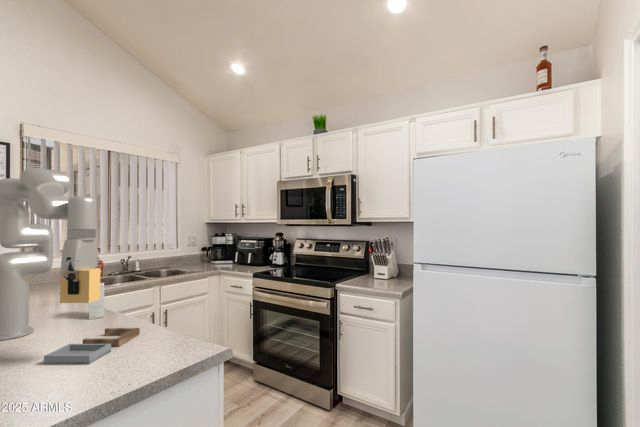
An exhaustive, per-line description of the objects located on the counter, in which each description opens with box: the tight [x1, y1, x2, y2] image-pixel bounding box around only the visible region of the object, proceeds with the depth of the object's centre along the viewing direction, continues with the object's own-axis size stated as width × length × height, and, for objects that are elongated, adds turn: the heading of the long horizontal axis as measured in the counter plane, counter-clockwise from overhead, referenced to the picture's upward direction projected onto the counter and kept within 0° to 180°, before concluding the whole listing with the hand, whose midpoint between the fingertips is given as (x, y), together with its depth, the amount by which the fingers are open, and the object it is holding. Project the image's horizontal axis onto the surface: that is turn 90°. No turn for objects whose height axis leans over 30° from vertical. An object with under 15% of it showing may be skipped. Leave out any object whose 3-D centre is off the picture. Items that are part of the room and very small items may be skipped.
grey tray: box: [43, 343, 112, 365], centre depth 101 cm, size 14×10×2 cm
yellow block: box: [59, 267, 102, 304], centre depth 102 cm, size 10×5×10 cm, turn 90°
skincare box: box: [88, 282, 105, 320], centre depth 148 cm, size 8×6×15 cm
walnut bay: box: [82, 327, 141, 348], centre depth 116 cm, size 13×12×2 cm
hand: (80, 291), depth 102 cm, fingers closed on yellow block, 5 cm apart
